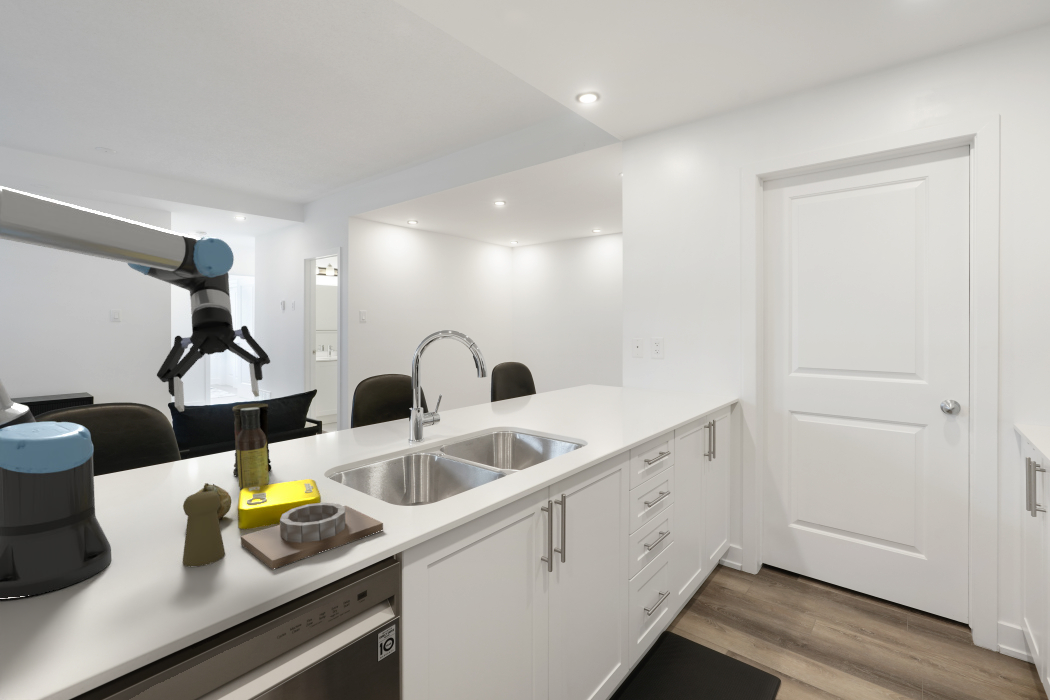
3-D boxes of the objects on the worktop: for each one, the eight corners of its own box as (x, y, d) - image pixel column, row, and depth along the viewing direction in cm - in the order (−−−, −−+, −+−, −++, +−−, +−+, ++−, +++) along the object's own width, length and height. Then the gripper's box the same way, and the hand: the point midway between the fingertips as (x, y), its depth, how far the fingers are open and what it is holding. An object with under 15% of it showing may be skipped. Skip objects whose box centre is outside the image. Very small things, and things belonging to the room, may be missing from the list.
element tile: (322, 518, 101) (321, 495, 101) (237, 532, 94) (237, 508, 94) (314, 496, 115) (314, 475, 114) (240, 507, 108) (239, 485, 107)
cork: (233, 550, 86) (231, 488, 86) (207, 567, 80) (205, 500, 79) (200, 549, 87) (198, 487, 86) (173, 566, 81) (170, 499, 80)
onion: (242, 514, 103) (240, 476, 102) (207, 530, 95) (206, 488, 95) (213, 511, 105) (211, 473, 104) (177, 526, 97) (175, 485, 97)
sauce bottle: (275, 490, 118) (272, 407, 117) (251, 498, 112) (248, 411, 111) (256, 487, 120) (253, 405, 119) (232, 495, 114) (229, 409, 114)
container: (238, 469, 135) (235, 403, 135) (274, 466, 138) (272, 402, 137) (229, 478, 127) (226, 409, 126) (268, 475, 130) (265, 407, 129)
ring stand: (272, 569, 79) (271, 542, 79) (241, 544, 88) (240, 519, 88) (383, 530, 94) (382, 507, 94) (346, 512, 103) (345, 491, 103)
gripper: (277, 315, 117) (288, 395, 108) (152, 334, 108) (153, 422, 99) (270, 296, 110) (281, 379, 101) (137, 315, 102) (137, 407, 93)
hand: (218, 401), depth 100 cm, fingers open, 13 cm apart
